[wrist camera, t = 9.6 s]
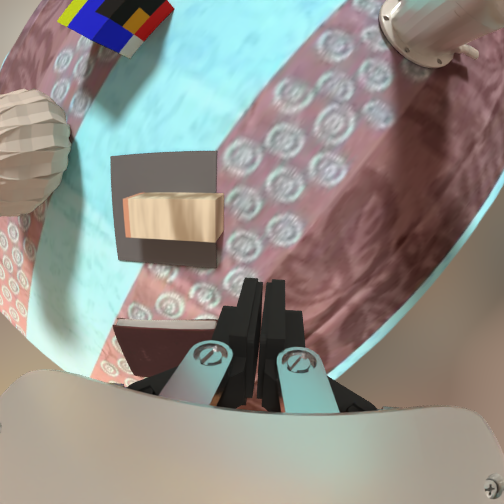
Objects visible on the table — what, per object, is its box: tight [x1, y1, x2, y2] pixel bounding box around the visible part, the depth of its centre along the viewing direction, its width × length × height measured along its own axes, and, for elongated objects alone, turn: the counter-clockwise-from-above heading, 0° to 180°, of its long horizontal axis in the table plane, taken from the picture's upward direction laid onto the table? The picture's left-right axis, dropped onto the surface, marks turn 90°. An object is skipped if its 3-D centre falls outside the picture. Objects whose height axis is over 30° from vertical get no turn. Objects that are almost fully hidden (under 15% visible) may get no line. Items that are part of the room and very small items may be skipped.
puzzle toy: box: [57, 0, 174, 59], centre depth 22 cm, size 10×10×10 cm
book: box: [113, 318, 218, 377], centre depth 44 cm, size 12×19×3 cm, turn 96°
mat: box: [111, 151, 217, 268], centre depth 37 cm, size 16×16×1 cm
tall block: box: [123, 192, 224, 242], centre depth 34 cm, size 5×5×12 cm
